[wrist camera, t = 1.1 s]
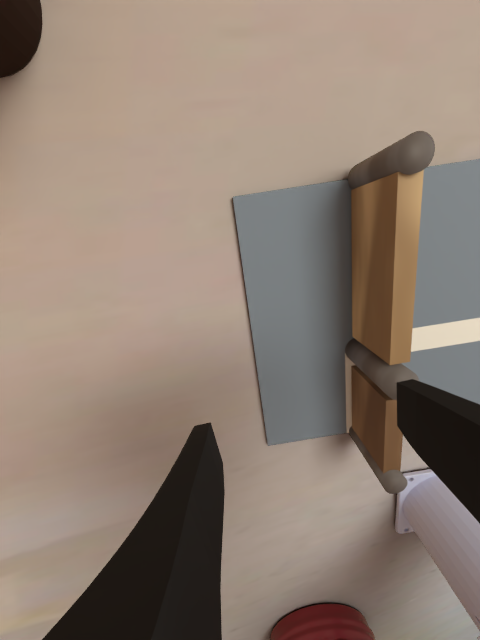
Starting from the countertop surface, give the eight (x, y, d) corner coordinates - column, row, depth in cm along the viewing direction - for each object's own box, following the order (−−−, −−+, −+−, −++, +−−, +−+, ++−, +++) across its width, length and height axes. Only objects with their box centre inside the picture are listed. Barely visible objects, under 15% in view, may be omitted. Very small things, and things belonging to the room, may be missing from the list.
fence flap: (373, 161, 15) (436, 128, 11) (370, 333, 19) (417, 363, 14) (347, 165, 15) (399, 133, 11) (349, 337, 19) (389, 368, 14)
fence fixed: (370, 335, 19) (420, 367, 14) (368, 435, 22) (409, 491, 17) (344, 339, 19) (386, 373, 14) (346, 439, 22) (381, 496, 17)
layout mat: (566, 146, 16) (573, 144, 16) (509, 403, 23) (513, 405, 22) (232, 197, 16) (232, 196, 16) (267, 443, 22) (267, 445, 22)
